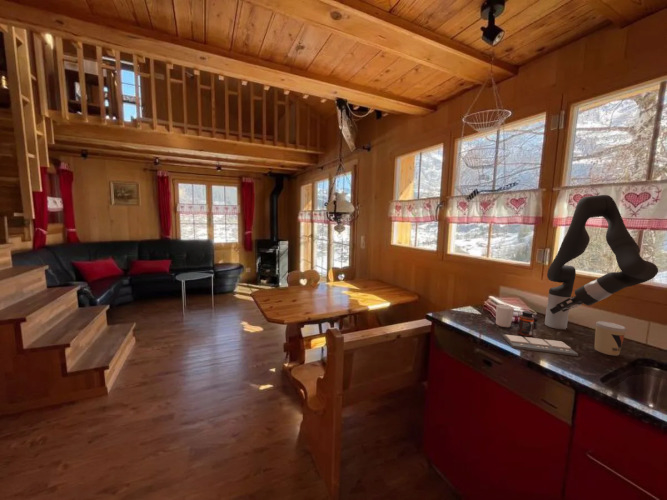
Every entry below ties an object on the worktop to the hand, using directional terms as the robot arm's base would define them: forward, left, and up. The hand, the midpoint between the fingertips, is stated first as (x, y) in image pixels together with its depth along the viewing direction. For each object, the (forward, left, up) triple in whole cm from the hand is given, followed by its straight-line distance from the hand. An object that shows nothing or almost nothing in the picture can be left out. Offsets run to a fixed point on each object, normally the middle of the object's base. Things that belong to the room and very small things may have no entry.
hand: (556, 310), depth 124 cm
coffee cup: (0, +21, -16) cm, 26 cm away
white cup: (-20, -13, -16) cm, 29 cm away
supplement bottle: (-9, -7, -16) cm, 20 cm away
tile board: (+4, -7, -16) cm, 18 cm away
